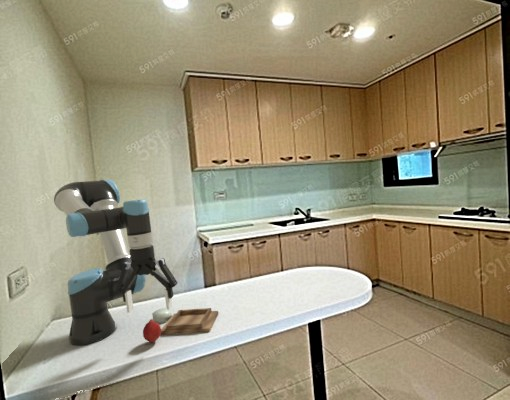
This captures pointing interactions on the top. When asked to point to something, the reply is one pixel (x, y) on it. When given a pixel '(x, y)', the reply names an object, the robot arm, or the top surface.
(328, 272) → the top surface
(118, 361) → the top surface
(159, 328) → the onion
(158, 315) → the pale green dome
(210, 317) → the tray
